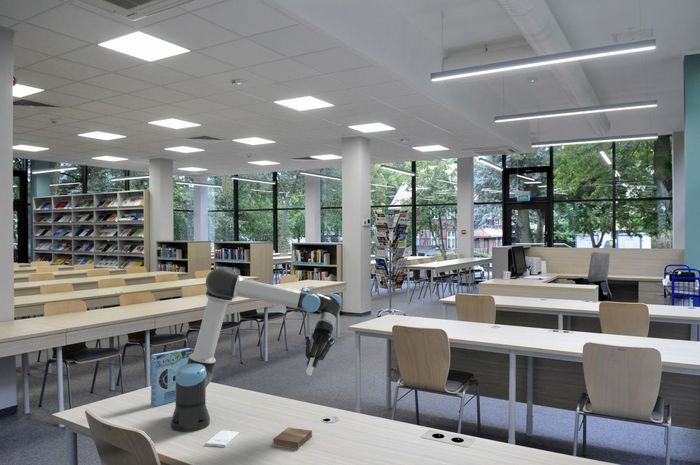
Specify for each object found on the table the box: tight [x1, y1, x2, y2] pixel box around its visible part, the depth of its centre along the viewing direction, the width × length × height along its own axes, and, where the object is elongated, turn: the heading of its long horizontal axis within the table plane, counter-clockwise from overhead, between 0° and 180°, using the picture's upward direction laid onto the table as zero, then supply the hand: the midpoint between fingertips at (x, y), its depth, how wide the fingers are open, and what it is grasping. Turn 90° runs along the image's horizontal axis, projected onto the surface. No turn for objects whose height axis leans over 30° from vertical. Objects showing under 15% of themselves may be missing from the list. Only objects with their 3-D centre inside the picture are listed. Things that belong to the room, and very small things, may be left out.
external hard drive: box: [204, 429, 241, 448], centre depth 186 cm, size 2×8×12 cm
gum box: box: [150, 347, 194, 407], centre depth 233 cm, size 20×5×23 cm, turn 141°
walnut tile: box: [272, 426, 313, 450], centre depth 185 cm, size 3×10×12 cm
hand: (308, 373), depth 198 cm, fingers closed
